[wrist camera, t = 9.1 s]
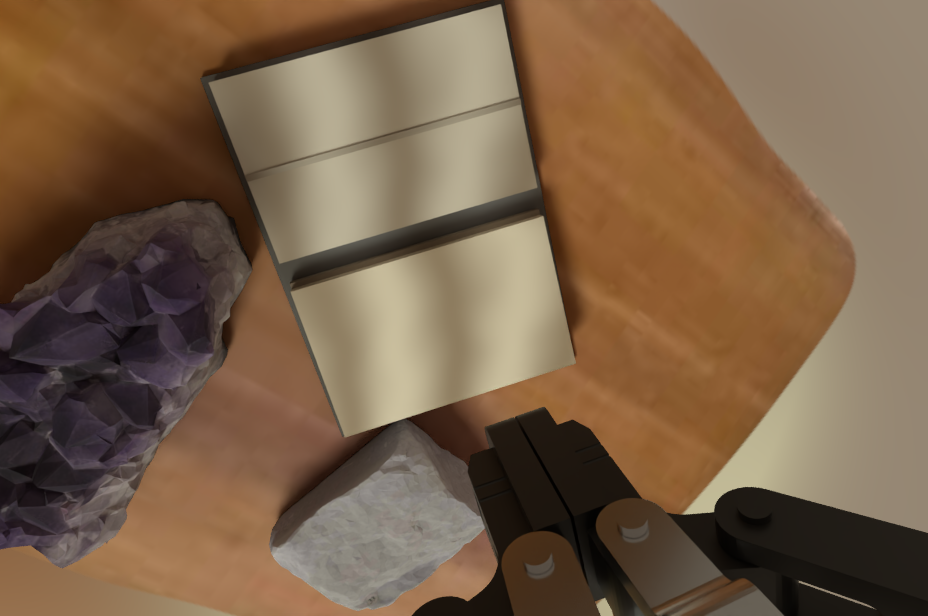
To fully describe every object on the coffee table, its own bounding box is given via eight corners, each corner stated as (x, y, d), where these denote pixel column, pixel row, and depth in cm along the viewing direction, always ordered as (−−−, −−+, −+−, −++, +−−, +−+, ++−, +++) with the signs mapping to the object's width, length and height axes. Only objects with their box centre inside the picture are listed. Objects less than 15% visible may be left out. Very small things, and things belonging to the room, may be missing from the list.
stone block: (489, 471, 43) (397, 400, 38) (513, 526, 39) (414, 457, 34) (364, 568, 45) (257, 515, 39) (375, 631, 41) (258, 582, 35)
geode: (87, 114, 29) (24, 154, 21) (298, 244, 35) (318, 318, 26) (-118, 438, 32) (-249, 592, 23) (108, 510, 38) (69, 655, 29)
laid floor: (342, 434, 38) (342, 449, 36) (201, 77, 29) (194, 78, 28) (573, 360, 39) (582, 371, 37) (501, -3, 30) (510, -6, 29)
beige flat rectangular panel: (345, 427, 36) (345, 437, 35) (290, 281, 33) (288, 286, 32) (569, 356, 37) (575, 363, 36) (535, 207, 34) (542, 211, 33)
